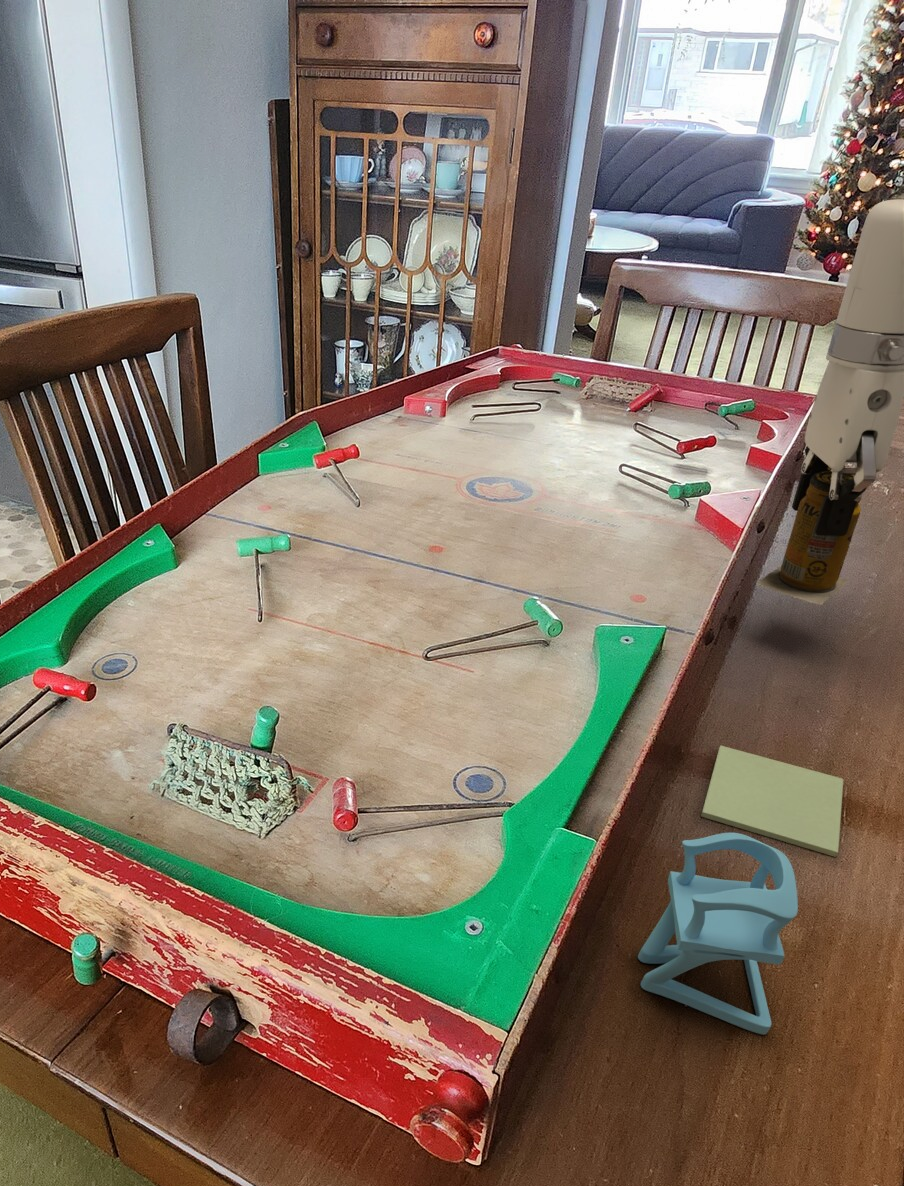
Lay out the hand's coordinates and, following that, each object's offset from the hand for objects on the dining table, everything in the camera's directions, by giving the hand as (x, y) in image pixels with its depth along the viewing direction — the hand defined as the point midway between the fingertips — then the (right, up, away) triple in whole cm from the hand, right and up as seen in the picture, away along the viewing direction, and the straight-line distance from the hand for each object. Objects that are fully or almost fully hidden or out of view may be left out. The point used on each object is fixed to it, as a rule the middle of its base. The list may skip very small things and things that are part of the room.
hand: (818, 520), depth 98 cm
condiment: (0, -7, +4) cm, 8 cm away
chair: (-25, -40, -33) cm, 58 cm away
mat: (-12, -29, -17) cm, 35 cm away
